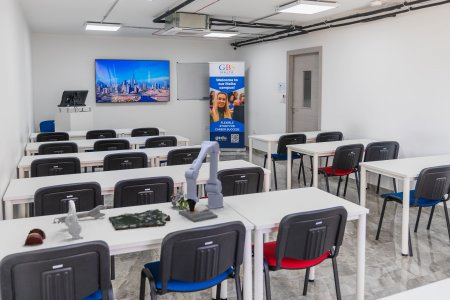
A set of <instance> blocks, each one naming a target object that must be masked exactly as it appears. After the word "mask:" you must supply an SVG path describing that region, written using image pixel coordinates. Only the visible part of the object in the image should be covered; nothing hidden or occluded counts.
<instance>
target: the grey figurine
mask: <svg viewBox="0 0 450 300" xmlns="http://www.w3.org/2000/svg"><path fill="white" fill-rule="evenodd" d="M76 210H77V209H76V205H75V201H74V200H71V199H70V200H68V212H67V215H66V216H67V217H66V219H65V222H64V223H65V225H66V227H67V232H68V234H69V235H70V236H71V237H72V239H77V240H82V239H84V236H82V235H80V234H81V232H82V225H81V223H80V222H79V219H78V218H77V216H76V214H77V212H76Z"/></svg>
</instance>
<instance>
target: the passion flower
mask: <svg viewBox="0 0 450 300" xmlns="http://www.w3.org/2000/svg"><path fill="white" fill-rule="evenodd" d="M175 193H176V192H173V193H172V194H171V196H170V199H171V200H170V201H171V205H172V207H171V208H172V209H173V208H175V207H176V206H177V205H179V211H183V210H186V209H187V208H189V206H188V203H187V201H186V200H187V199H185V194H184V190H182V191H180V192H177V193H176V194H175ZM183 208H184V209H183Z"/></svg>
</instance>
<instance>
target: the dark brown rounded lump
mask: <svg viewBox="0 0 450 300" xmlns="http://www.w3.org/2000/svg"><path fill="white" fill-rule="evenodd" d="M46 238H47V236H46V233H45V232H44V230H43V229H41V228H39V227H38V228H32V229H31V230H29V232H28V234H27V236H26V238H25V242H24V246H33V245H34V246H35V245H43V244H44V241H43V239H46Z"/></svg>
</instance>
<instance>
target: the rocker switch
mask: <svg viewBox="0 0 450 300" xmlns="http://www.w3.org/2000/svg"><path fill="white" fill-rule="evenodd" d="M207 209H208V207H206V206H205V205H203V204H200V205H197V206H195V208H194V211H190V210H189V211H188V212H189V213H191V214H192V215H193V214H198V213H200V212H203V211H205V210H207Z"/></svg>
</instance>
